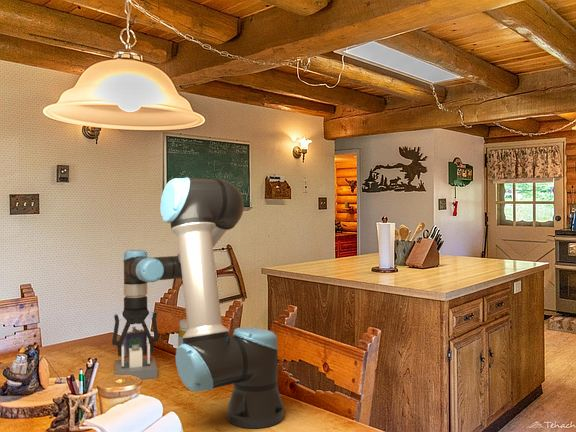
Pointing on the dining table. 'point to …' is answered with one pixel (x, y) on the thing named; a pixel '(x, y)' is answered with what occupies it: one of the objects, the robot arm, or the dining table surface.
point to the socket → (137, 368)
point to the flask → (135, 341)
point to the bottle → (182, 331)
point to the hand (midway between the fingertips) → (135, 363)
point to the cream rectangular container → (135, 356)
